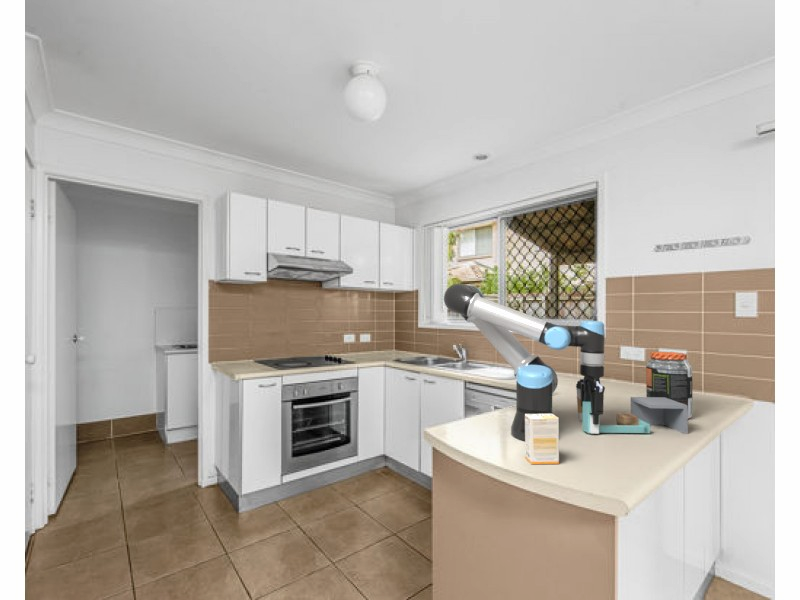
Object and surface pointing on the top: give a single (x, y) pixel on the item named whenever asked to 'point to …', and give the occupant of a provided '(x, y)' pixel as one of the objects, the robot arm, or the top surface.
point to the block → (627, 419)
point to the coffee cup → (579, 401)
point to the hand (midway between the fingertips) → (590, 430)
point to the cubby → (661, 412)
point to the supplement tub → (670, 378)
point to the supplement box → (542, 438)
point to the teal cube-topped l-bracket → (640, 428)
